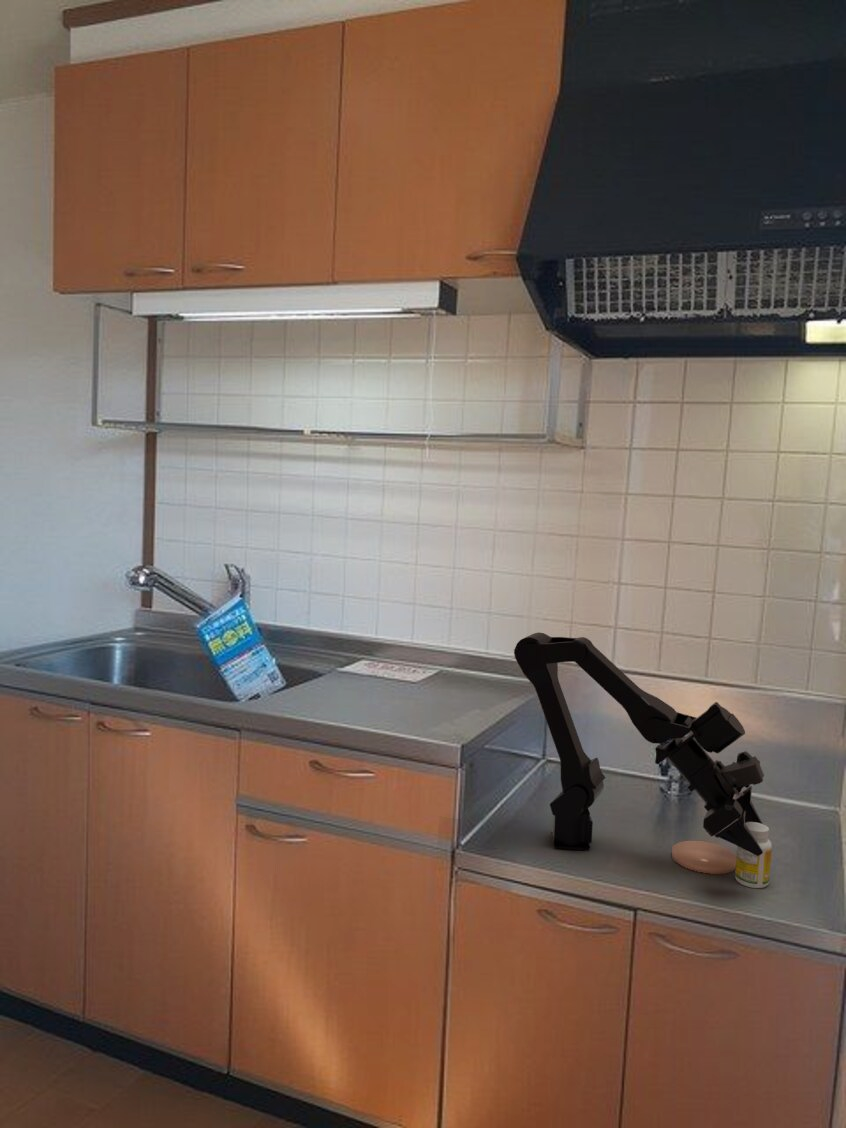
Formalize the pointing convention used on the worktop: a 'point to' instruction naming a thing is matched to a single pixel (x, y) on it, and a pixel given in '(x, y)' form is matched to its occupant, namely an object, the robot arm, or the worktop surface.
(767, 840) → the supplement bottle
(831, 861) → the worktop surface
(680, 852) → the saucer
